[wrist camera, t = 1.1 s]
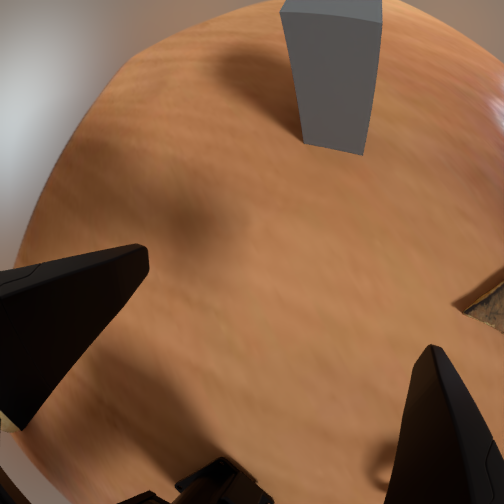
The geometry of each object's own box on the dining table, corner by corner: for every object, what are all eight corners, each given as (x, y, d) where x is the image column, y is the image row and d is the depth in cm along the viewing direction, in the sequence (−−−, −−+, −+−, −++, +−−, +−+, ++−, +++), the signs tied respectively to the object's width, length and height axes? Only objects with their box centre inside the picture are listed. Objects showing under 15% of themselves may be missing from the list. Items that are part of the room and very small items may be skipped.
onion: (32, 440, 23) (-5, 448, 17) (5, 405, 26) (-29, 408, 19) (35, 398, 24) (-8, 404, 17) (8, 364, 26) (-31, 364, 20)
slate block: (362, 155, 21) (382, 23, 9) (303, 143, 23) (279, 11, 10) (369, 111, 22) (381, -13, 10) (315, 101, 23) (298, -22, 11)
